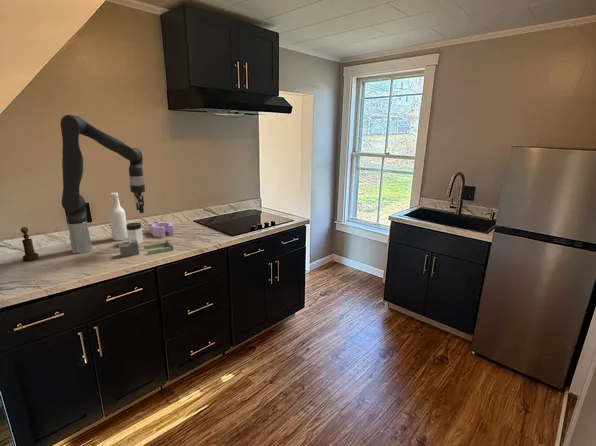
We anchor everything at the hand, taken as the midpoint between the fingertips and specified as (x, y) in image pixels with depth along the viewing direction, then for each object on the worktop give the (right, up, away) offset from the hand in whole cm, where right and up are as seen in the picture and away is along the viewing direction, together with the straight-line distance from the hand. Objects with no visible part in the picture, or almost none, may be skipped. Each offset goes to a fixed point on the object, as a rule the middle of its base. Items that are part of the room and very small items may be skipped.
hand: (140, 211), depth 184 cm
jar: (-9, -19, +13) cm, 25 cm away
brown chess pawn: (-51, -27, -15) cm, 60 cm away
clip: (-1, -14, +31) cm, 34 cm away
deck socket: (+10, -23, +2) cm, 25 cm away
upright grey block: (-3, -25, -6) cm, 26 cm away
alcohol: (-22, -17, +19) cm, 34 cm away
